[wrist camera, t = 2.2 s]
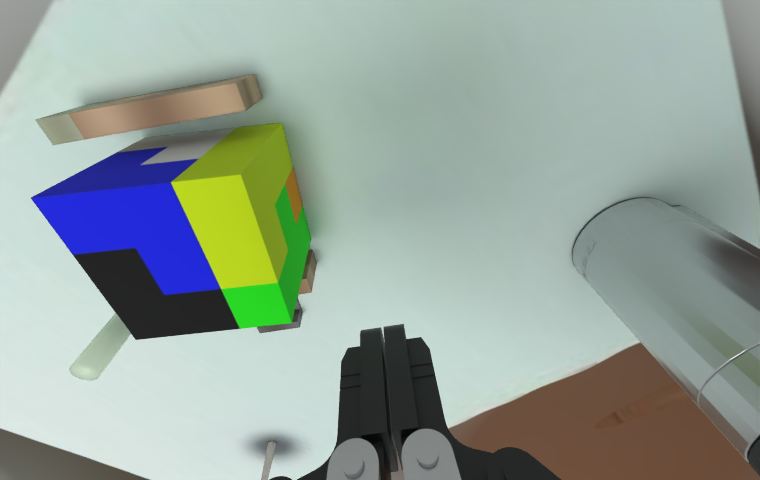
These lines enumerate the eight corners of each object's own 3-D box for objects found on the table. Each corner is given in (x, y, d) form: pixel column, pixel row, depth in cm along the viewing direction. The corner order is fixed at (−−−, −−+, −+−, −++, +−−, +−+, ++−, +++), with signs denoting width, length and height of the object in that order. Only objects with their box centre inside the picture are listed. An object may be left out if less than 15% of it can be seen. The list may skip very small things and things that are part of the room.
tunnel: (254, 74, 22) (235, 82, 19) (331, 307, 34) (328, 338, 31) (83, 105, 23) (35, 119, 19) (217, 325, 34) (202, 357, 31)
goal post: (149, 282, 31) (92, 353, 24) (169, 310, 33) (120, 382, 26) (113, 288, 31) (45, 360, 24) (134, 315, 33) (77, 389, 26)
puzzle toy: (145, 137, 24) (30, 197, 16) (282, 122, 24) (240, 174, 16) (199, 250, 30) (135, 339, 21) (310, 238, 29) (291, 323, 21)
